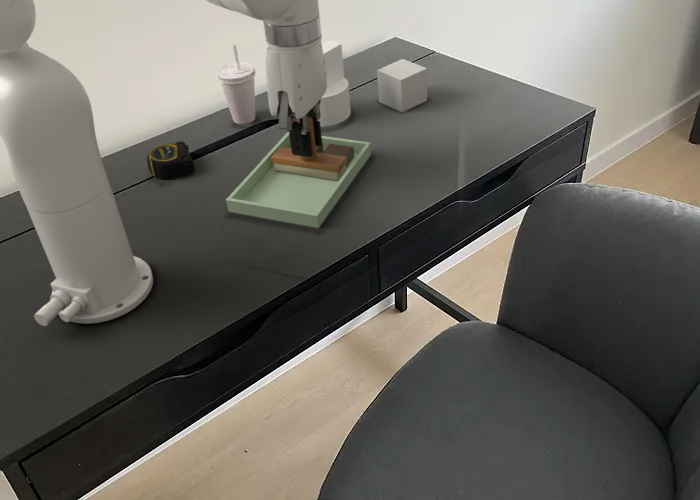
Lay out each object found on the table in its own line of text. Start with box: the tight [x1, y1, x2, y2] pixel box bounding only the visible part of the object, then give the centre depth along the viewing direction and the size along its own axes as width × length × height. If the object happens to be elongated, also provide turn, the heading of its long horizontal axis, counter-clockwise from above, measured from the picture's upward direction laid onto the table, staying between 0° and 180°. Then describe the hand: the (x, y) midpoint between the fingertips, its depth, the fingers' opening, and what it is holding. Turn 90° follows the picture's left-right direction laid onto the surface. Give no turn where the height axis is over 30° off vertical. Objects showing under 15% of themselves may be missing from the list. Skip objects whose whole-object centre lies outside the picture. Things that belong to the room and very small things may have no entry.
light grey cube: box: [376, 58, 428, 113], centre depth 129 cm, size 6×6×6 cm
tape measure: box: [146, 140, 196, 181], centre depth 117 cm, size 7×7×4 cm
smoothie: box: [216, 44, 256, 125], centre depth 125 cm, size 6×6×14 cm
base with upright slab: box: [317, 39, 352, 128], centre depth 125 cm, size 9×9×12 cm
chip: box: [322, 144, 354, 167], centre depth 114 cm, size 4×4×2 cm
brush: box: [271, 117, 347, 181], centre depth 111 cm, size 3×11×8 cm, turn 67°
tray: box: [225, 131, 372, 229], centre depth 111 cm, size 20×14×3 cm
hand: (307, 148), depth 111 cm, fingers closed on brush, 2 cm apart
